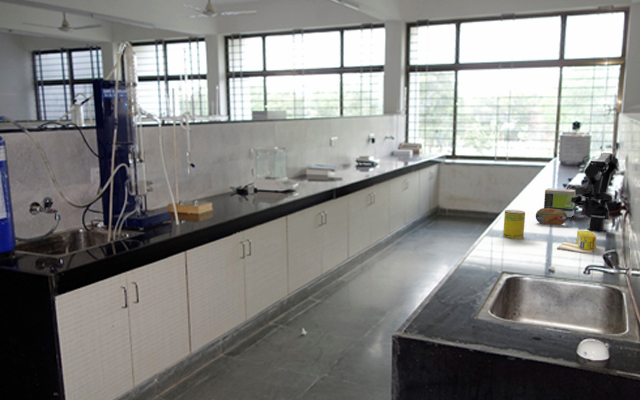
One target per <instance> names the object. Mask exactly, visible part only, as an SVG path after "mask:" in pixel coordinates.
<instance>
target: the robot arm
mask: <svg viewBox="0 0 640 400" xmlns="http://www.w3.org/2000/svg"><path fill="white" fill-rule="evenodd" d="M619 165H620V163H619V159H618V158H617V157H616V156H615V155H614V154H613V153H612V152H601V153H600V156H599V157H598V158H597V159H596V158H593V159H591V160H590V161H589V162H588V163H587V166H586V168H585V169H584V174H585V176H586V179H587V183H586V184H585V185H584V186H580V187H575V188H574V190H575V193H576V194H575V196H574V197H572V199H571V202H573V203H575V205H578V206H583V208H584V212H585V216H586V217H587V219H588V218H590V220H589V227H587V228H586V230H587V231H592V232H596V233H597V232H598V233H600V232H606V231H607V229H606V228H605V222H606V220H610V210H609V207H608V205H607V203H612V202H613V196H612V195H611V194H608V191H609V185H610V181H611V178H612V177H613V176H614V175H616V172H617V170H619ZM580 195H581V196H580Z"/></svg>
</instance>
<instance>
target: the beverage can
mask: <svg viewBox="0 0 640 400" xmlns="http://www.w3.org/2000/svg"><path fill="white" fill-rule="evenodd" d="M525 219H526V211H524V210H519V209H506V210H504V217H503V233H502V236H503V237H504V238H507V239H512V240H513V239H514V240H515V239H516V240H517V239H518V240H519V239H520V238H521V239H523V238H524V235H525V234H524V232H525V222H526V221H525ZM521 239H520V240H521Z"/></svg>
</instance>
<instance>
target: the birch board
mask: <svg viewBox="0 0 640 400" xmlns="http://www.w3.org/2000/svg"><path fill="white" fill-rule="evenodd" d="M556 249H557V250H561V249H562V251H567V250H568V251H569V252H575V253H580V254H581V253H582V254H586V255H591V254H592V253H593V252H594V251H595V250H596V249H597V245H596V247H595V250H588V249H580V248H579V246H578V244H577V242H576V243H575V242H568V241H564V242H562V243H561V244H560V245H559V246H557V248H556Z"/></svg>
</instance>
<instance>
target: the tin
mask: <svg viewBox="0 0 640 400" xmlns="http://www.w3.org/2000/svg"><path fill="white" fill-rule="evenodd" d="M535 220H536V221H537V222H538V224H541V225H549V224H551V225H553V226H562V225H564V224H565V223H566V222H567V220H568V217H567V214H566V213H565V212H564V211H563V210H561V209H548V208H544V207H543V208H540V209H538V210H537V212H536V213H535ZM551 225H550V226H551Z"/></svg>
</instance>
